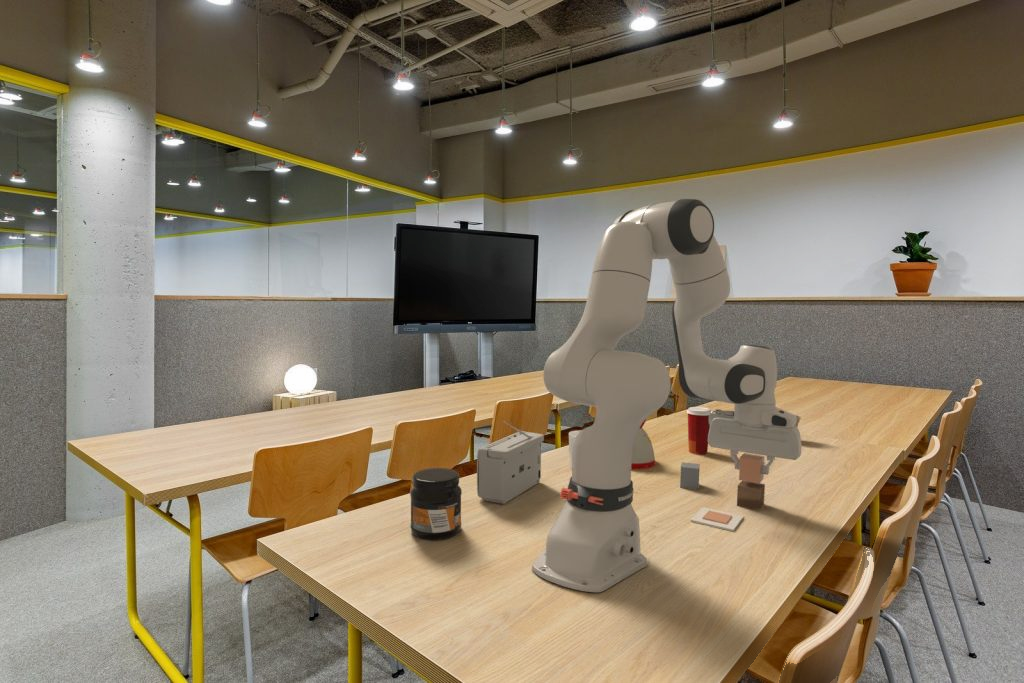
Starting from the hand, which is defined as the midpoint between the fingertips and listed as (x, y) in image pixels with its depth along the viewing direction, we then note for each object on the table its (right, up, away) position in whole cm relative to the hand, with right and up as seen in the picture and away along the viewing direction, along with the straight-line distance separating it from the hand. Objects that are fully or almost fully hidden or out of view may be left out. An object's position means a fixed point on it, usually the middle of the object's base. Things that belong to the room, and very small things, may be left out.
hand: (751, 471), depth 132 cm
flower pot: (+38, -4, +63) cm, 74 cm away
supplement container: (-72, -9, -16) cm, 75 cm away
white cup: (-37, -6, +29) cm, 47 cm away
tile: (-11, -9, -9) cm, 17 cm away
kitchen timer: (-21, -6, +35) cm, 41 cm away
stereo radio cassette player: (-57, -7, +8) cm, 58 cm away
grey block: (-10, -7, +14) cm, 19 cm away
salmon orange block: (0, -2, 0) cm, 2 cm away
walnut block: (0, -8, +1) cm, 8 cm away
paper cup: (+3, -5, +46) cm, 47 cm away
